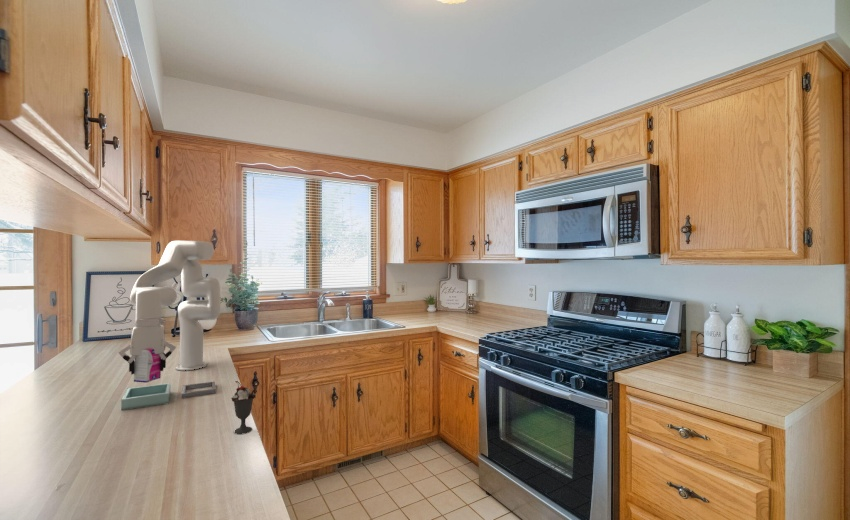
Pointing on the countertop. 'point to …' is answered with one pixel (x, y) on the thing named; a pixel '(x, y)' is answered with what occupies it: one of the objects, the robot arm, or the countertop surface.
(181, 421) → the countertop surface
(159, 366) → the supplement box
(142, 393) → the bin
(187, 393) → the collar
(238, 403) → the sundae
